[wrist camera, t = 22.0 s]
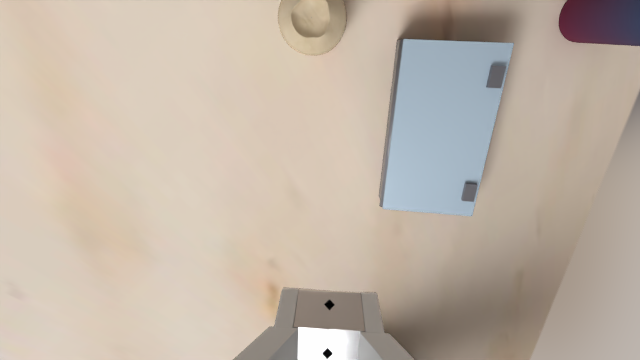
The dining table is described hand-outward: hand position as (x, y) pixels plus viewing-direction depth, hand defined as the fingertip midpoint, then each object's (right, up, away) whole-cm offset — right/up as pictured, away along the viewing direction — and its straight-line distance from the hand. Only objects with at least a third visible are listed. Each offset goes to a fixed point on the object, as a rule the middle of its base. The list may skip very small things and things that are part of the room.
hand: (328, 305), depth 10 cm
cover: (+12, +9, +24) cm, 28 cm away
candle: (-1, +20, +24) cm, 31 cm away
